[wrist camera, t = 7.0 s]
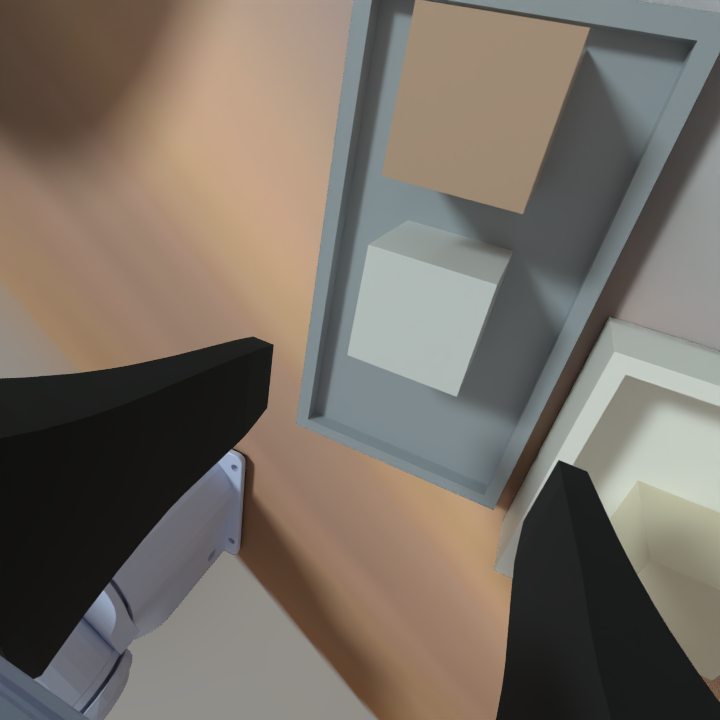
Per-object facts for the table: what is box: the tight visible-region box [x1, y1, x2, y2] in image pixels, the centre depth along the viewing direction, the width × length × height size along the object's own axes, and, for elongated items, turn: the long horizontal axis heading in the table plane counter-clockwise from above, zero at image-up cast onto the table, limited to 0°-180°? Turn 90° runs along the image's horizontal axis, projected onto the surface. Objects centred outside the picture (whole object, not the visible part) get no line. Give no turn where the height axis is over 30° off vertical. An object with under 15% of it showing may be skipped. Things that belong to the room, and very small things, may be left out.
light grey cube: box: [347, 220, 513, 397], centre depth 16 cm, size 4×4×4 cm
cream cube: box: [609, 481, 720, 681], centre depth 17 cm, size 4×4×4 cm
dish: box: [494, 317, 720, 676], centre depth 17 cm, size 11×11×3 cm
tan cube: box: [382, 0, 590, 214], centre depth 13 cm, size 4×4×4 cm
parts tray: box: [296, 0, 720, 510], centre depth 18 cm, size 18×10×1 cm, turn 168°
